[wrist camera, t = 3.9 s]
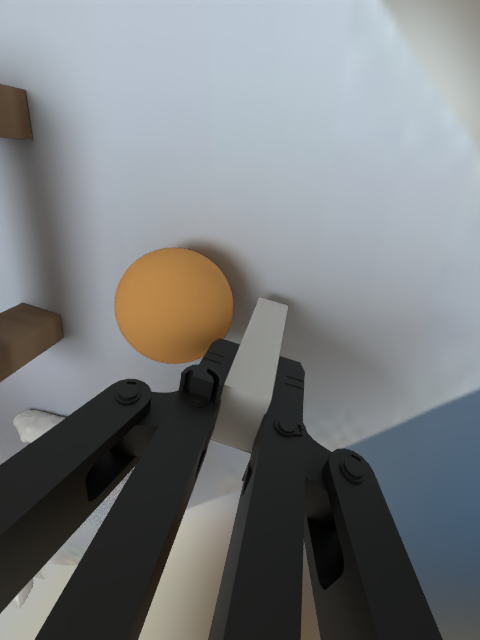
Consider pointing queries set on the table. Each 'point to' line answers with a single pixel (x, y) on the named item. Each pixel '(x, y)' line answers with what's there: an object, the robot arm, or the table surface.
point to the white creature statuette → (29, 430)
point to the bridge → (22, 320)
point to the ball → (173, 305)
